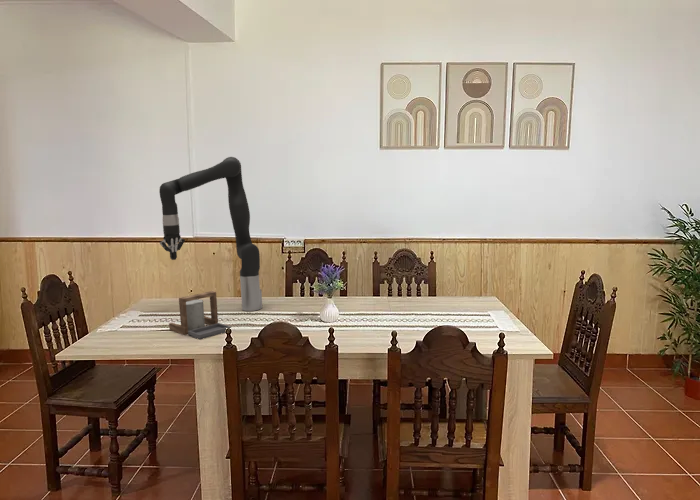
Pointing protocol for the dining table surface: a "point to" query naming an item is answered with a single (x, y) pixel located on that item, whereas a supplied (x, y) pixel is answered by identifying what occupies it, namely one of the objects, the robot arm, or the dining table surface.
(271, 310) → the dining table surface
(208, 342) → the dining table surface
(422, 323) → the dining table surface
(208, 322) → the walnut frame
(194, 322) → the grey upright pillar
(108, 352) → the dining table surface
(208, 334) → the grey shallow rectangular tray
